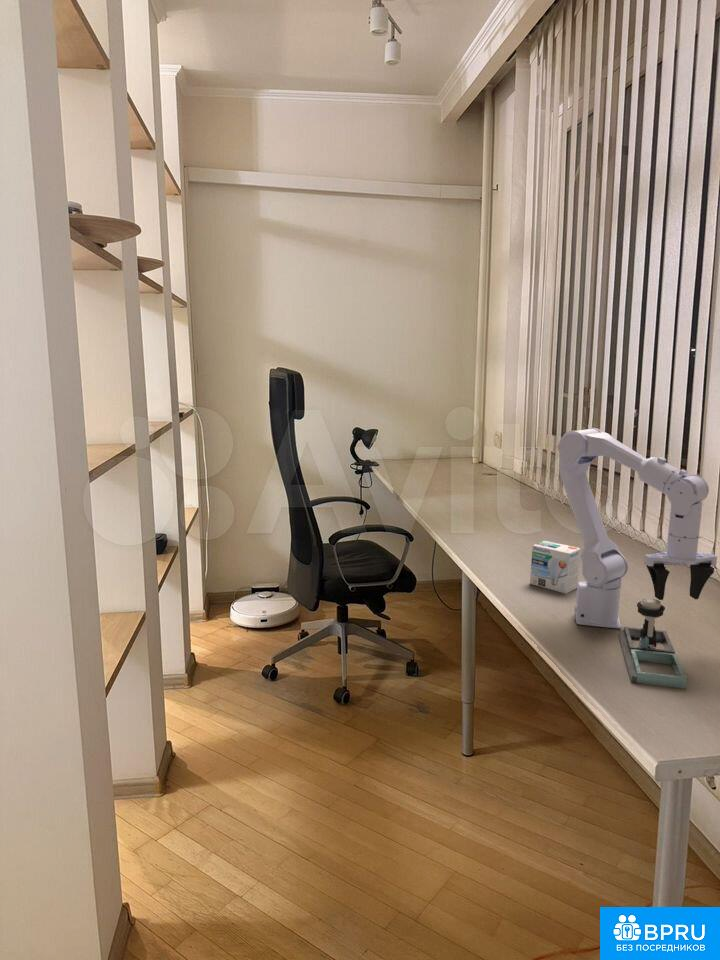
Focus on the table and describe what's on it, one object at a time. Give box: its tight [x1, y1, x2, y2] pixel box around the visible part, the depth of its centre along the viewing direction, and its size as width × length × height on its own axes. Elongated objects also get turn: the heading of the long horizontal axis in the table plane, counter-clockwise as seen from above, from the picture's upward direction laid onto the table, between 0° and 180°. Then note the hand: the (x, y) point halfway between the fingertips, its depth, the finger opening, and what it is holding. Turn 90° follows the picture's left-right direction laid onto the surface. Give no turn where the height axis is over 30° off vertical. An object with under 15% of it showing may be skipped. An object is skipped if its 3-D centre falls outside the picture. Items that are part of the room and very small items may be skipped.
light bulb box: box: [529, 540, 582, 595], centre depth 181 cm, size 11×7×11 cm, turn 47°
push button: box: [636, 597, 666, 649], centre depth 144 cm, size 7×5×10 cm
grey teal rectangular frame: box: [618, 626, 688, 690], centre depth 139 cm, size 9×22×2 cm, turn 166°
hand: (676, 598), depth 145 cm, fingers open, 7 cm apart
